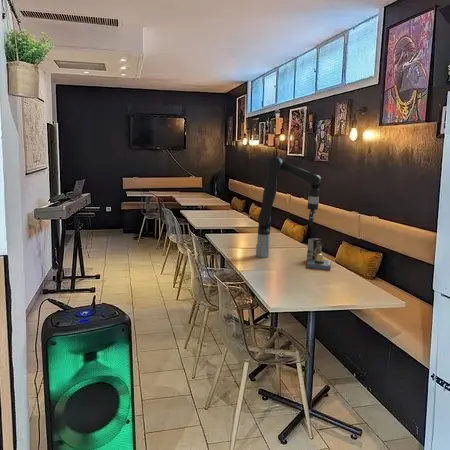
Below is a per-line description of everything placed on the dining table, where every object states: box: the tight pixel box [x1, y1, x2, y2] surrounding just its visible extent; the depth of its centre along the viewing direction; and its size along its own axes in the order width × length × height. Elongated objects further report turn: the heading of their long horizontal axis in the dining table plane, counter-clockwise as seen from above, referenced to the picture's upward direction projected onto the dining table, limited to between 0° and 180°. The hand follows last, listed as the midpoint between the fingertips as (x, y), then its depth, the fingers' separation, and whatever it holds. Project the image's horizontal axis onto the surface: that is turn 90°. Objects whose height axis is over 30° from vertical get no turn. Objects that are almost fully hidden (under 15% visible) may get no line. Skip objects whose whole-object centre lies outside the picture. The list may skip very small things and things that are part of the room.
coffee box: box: [306, 237, 323, 261], centre depth 342 cm, size 9×6×16 cm
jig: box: [306, 259, 332, 271], centre depth 323 cm, size 16×16×4 cm
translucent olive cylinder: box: [316, 252, 324, 264], centre depth 323 cm, size 4×4×9 cm
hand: (310, 224), depth 331 cm, fingers open, 8 cm apart
